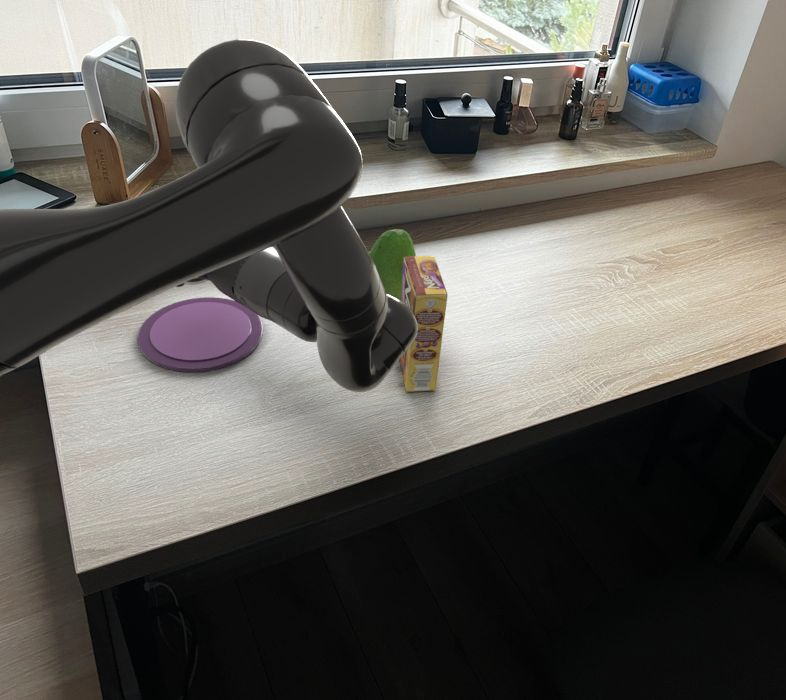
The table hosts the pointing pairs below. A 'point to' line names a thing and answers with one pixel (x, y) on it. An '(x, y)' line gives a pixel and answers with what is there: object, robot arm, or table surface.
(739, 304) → the table surface
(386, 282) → the avocado
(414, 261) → the candy box
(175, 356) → the plum dish
